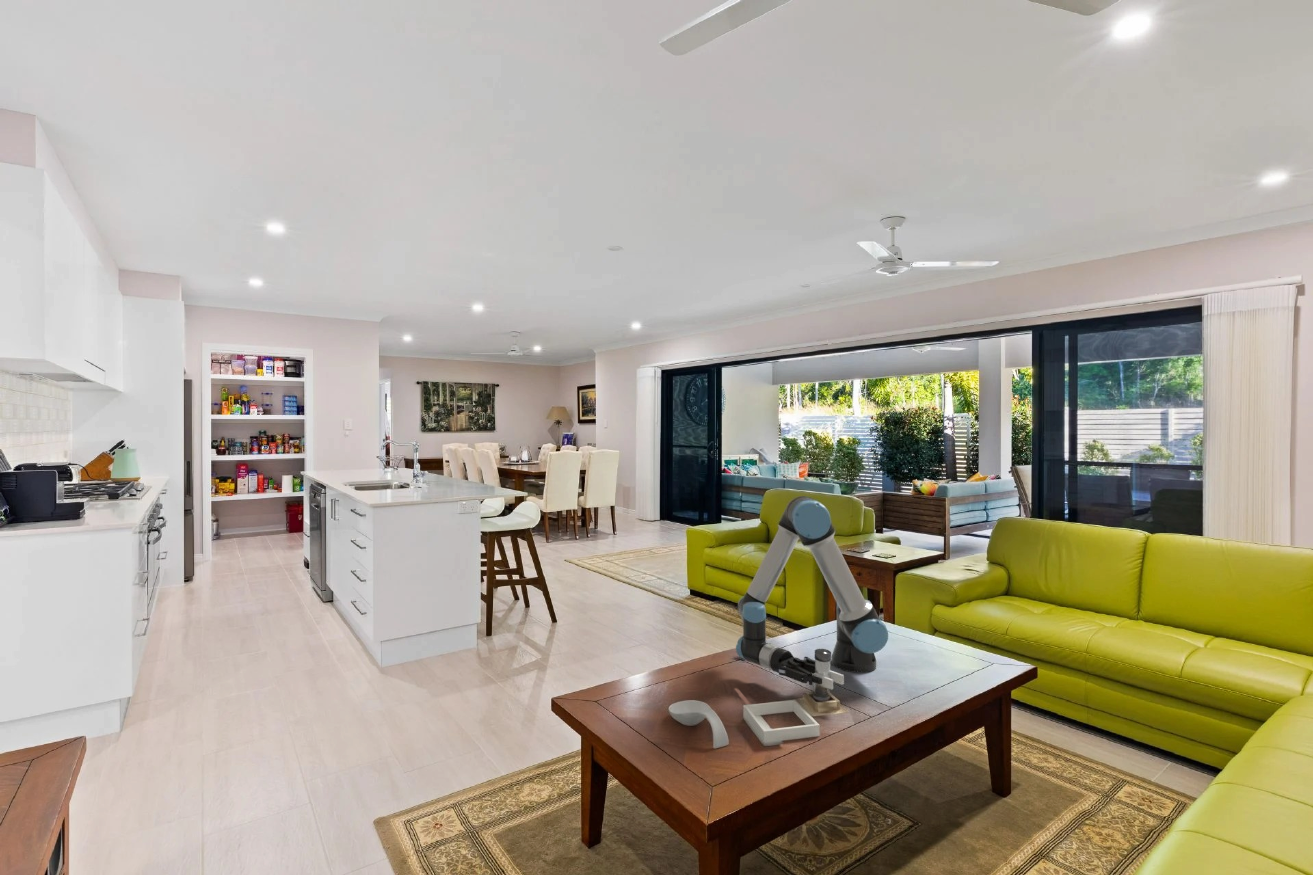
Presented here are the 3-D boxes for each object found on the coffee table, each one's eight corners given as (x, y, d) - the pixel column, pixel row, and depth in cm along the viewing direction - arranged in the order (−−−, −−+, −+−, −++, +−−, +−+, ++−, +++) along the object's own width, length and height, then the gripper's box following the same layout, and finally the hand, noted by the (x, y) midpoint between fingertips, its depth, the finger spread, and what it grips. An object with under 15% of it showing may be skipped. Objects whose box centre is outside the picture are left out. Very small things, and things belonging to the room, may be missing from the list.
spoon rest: (661, 716, 189) (661, 692, 189) (695, 708, 194) (695, 684, 194) (703, 753, 168) (703, 726, 168) (741, 742, 173) (740, 716, 173)
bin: (794, 712, 190) (794, 699, 190) (819, 739, 174) (819, 724, 174) (743, 718, 186) (743, 705, 186) (764, 746, 171) (764, 731, 171)
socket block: (830, 697, 200) (830, 686, 200) (849, 715, 188) (849, 703, 188) (794, 701, 197) (794, 690, 197) (811, 719, 186) (811, 707, 185)
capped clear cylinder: (826, 699, 195) (828, 648, 194) (831, 707, 191) (833, 655, 189) (811, 699, 195) (812, 648, 194) (815, 707, 190) (817, 655, 189)
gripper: (794, 664, 212) (855, 686, 193) (758, 677, 201) (819, 703, 183) (794, 641, 212) (855, 662, 193) (757, 654, 201) (818, 677, 182)
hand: (837, 682), depth 188 cm, fingers closed on capped clear cylinder, 4 cm apart
